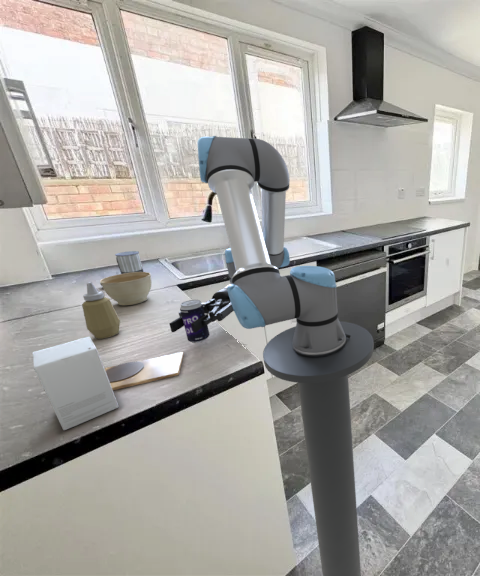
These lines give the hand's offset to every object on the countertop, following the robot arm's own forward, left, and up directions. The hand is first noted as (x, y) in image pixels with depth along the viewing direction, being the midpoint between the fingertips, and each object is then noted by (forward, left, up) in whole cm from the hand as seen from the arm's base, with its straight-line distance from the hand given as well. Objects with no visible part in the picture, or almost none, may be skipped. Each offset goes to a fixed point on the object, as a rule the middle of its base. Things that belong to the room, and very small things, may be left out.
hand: (182, 327), depth 85 cm
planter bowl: (+25, -59, -9) cm, 65 cm away
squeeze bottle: (+25, -26, -9) cm, 38 cm away
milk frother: (+35, -92, -9) cm, 99 cm away
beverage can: (-3, -4, -7) cm, 8 cm away
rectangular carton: (+17, +16, -9) cm, 26 cm away
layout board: (+11, +5, -8) cm, 15 cm away
